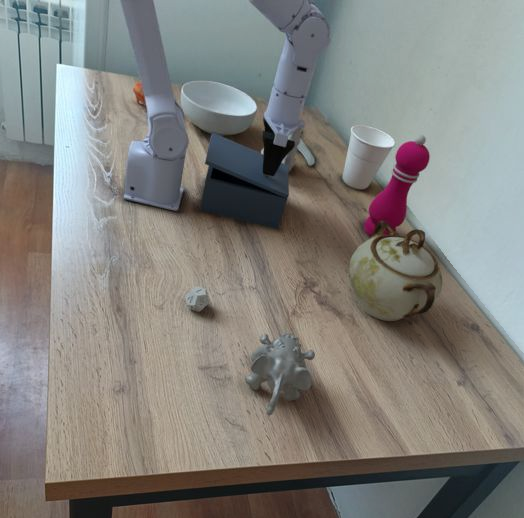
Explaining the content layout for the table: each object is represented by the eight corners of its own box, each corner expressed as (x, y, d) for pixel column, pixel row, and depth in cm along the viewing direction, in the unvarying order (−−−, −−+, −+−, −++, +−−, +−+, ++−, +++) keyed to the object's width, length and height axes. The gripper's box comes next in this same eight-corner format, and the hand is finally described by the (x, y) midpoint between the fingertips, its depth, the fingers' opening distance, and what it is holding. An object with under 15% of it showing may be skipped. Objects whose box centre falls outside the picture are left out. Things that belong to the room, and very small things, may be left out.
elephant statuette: (299, 362, 75) (316, 323, 70) (317, 433, 67) (337, 394, 62) (235, 358, 73) (247, 316, 68) (245, 431, 65) (260, 390, 59)
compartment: (199, 211, 97) (205, 179, 92) (206, 180, 105) (211, 150, 101) (278, 229, 99) (287, 199, 95) (278, 198, 107) (287, 169, 103)
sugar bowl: (444, 346, 86) (494, 272, 76) (363, 348, 81) (405, 269, 71) (393, 269, 99) (430, 197, 89) (320, 266, 94) (350, 189, 83)
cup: (327, 180, 118) (344, 132, 111) (342, 167, 125) (360, 120, 118) (367, 200, 116) (387, 152, 109) (381, 185, 123) (401, 139, 116)
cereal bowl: (164, 126, 117) (168, 93, 112) (193, 104, 129) (198, 73, 125) (237, 153, 116) (244, 121, 112) (259, 129, 129) (266, 99, 124)
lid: (204, 164, 90) (213, 139, 88) (211, 135, 99) (219, 112, 96) (287, 198, 94) (298, 176, 92) (286, 168, 103) (297, 147, 100)
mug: (289, 159, 121) (305, 106, 113) (298, 186, 113) (316, 131, 105) (256, 153, 119) (270, 98, 111) (263, 180, 111) (278, 123, 103)
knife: (325, 166, 121) (306, 161, 119) (322, 172, 122) (303, 167, 120) (292, 111, 138) (275, 106, 136) (290, 117, 139) (273, 112, 137)
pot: (126, 107, 118) (130, 74, 115) (137, 104, 125) (141, 73, 122) (161, 117, 118) (166, 84, 115) (170, 114, 125) (175, 83, 122)
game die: (213, 309, 79) (216, 293, 77) (194, 318, 76) (197, 302, 74) (197, 295, 80) (200, 280, 78) (178, 304, 78) (180, 288, 76)
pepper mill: (394, 246, 105) (443, 149, 91) (359, 234, 105) (403, 136, 91) (395, 228, 110) (441, 134, 97) (362, 217, 110) (403, 121, 96)
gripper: (315, 113, 83) (290, 192, 92) (311, 81, 93) (289, 155, 102) (271, 101, 82) (250, 182, 91) (272, 70, 92) (253, 145, 101)
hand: (268, 167), depth 97 cm, fingers closed on lid, 5 cm apart
